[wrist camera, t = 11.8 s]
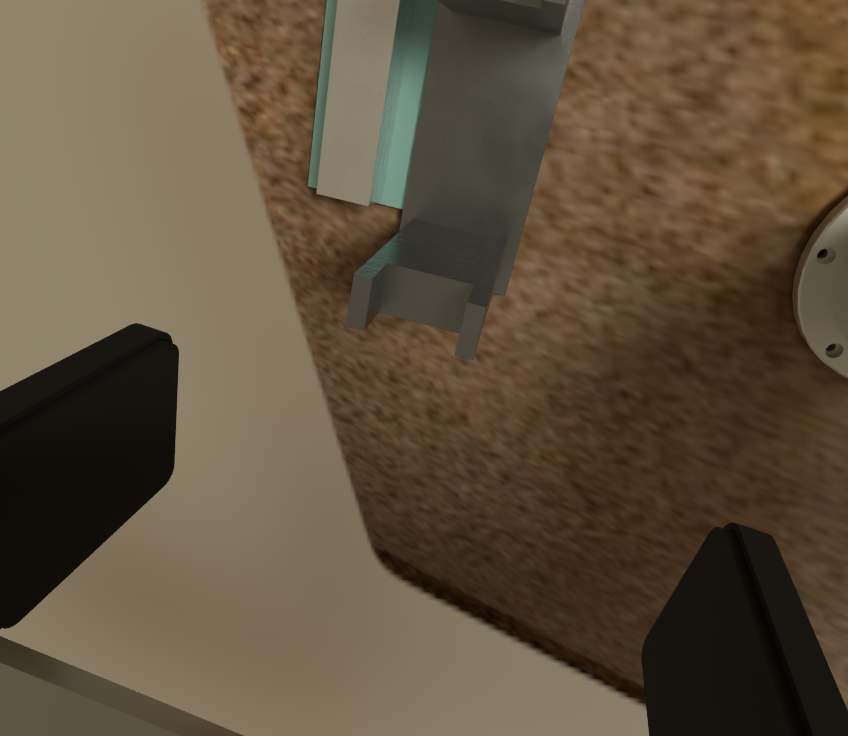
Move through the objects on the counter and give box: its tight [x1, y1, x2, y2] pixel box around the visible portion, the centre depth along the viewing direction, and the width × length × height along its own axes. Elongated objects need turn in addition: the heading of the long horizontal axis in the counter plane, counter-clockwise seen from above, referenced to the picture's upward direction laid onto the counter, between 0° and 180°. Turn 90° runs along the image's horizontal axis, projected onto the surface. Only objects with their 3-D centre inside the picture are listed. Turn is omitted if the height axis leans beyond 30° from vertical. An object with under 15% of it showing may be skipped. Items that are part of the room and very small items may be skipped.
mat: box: [308, 0, 439, 209], centre depth 31 cm, size 6×18×1 cm, turn 169°
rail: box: [316, 0, 414, 206], centre depth 30 cm, size 3×17×3 cm, turn 169°
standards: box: [346, 0, 585, 360], centre depth 27 cm, size 7×17×12 cm, turn 169°
